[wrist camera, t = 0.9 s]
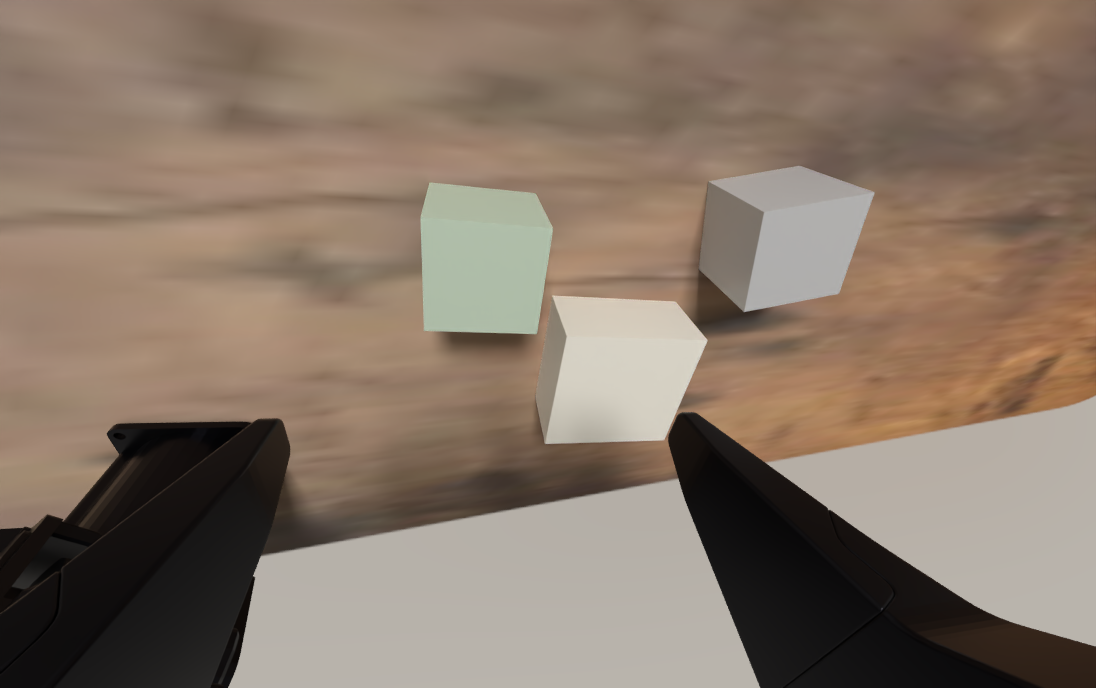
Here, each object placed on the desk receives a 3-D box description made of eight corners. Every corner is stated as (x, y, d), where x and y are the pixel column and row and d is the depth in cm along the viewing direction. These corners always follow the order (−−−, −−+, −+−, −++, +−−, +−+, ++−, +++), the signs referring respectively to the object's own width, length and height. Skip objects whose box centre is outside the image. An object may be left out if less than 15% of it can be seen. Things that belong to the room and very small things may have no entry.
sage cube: (431, 279, 20) (424, 330, 16) (429, 182, 17) (420, 217, 14) (524, 284, 21) (536, 334, 17) (535, 192, 18) (552, 228, 15)
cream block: (534, 394, 25) (545, 444, 22) (551, 293, 22) (566, 336, 18) (640, 393, 27) (663, 440, 24) (673, 299, 23) (707, 340, 20)
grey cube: (697, 268, 22) (744, 312, 18) (707, 180, 19) (764, 212, 16) (777, 253, 22) (838, 293, 19) (798, 165, 20) (874, 192, 16)
